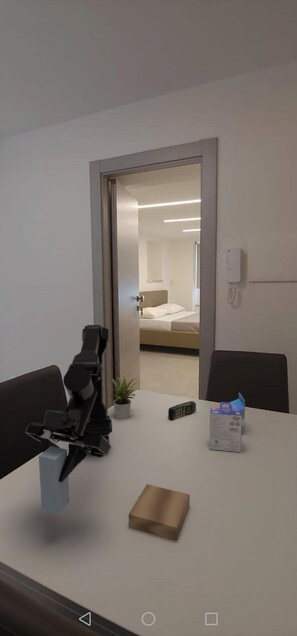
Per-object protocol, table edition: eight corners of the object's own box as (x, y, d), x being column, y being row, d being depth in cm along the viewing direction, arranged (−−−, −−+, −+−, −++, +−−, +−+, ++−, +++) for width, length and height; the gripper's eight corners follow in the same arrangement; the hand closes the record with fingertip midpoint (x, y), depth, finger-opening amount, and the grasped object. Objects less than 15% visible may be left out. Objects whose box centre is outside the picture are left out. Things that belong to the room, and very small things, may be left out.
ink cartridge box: (240, 444, 106) (241, 401, 104) (241, 453, 100) (242, 408, 98) (209, 441, 107) (210, 399, 106) (209, 449, 102) (210, 406, 100)
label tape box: (227, 423, 121) (228, 391, 119) (238, 423, 120) (239, 391, 119) (233, 434, 112) (233, 401, 110) (244, 434, 112) (245, 401, 110)
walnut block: (128, 528, 71) (128, 514, 70) (147, 496, 81) (146, 484, 81) (176, 543, 67) (176, 527, 66) (189, 507, 77) (189, 494, 77)
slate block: (41, 509, 67) (38, 455, 65) (53, 497, 70) (51, 446, 69) (57, 514, 65) (55, 459, 64) (69, 501, 69) (66, 449, 67)
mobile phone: (171, 410, 122) (199, 400, 131) (166, 407, 124) (194, 397, 133) (171, 422, 123) (199, 411, 131) (166, 419, 125) (194, 409, 134)
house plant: (148, 411, 131) (148, 373, 129) (136, 426, 118) (135, 384, 116) (116, 407, 136) (116, 370, 134) (101, 421, 123) (100, 380, 121)
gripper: (28, 387, 72) (-8, 459, 63) (101, 398, 65) (72, 480, 57) (52, 407, 80) (23, 474, 72) (119, 418, 74) (96, 493, 65)
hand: (51, 479), depth 66 cm, fingers closed on slate block, 4 cm apart
